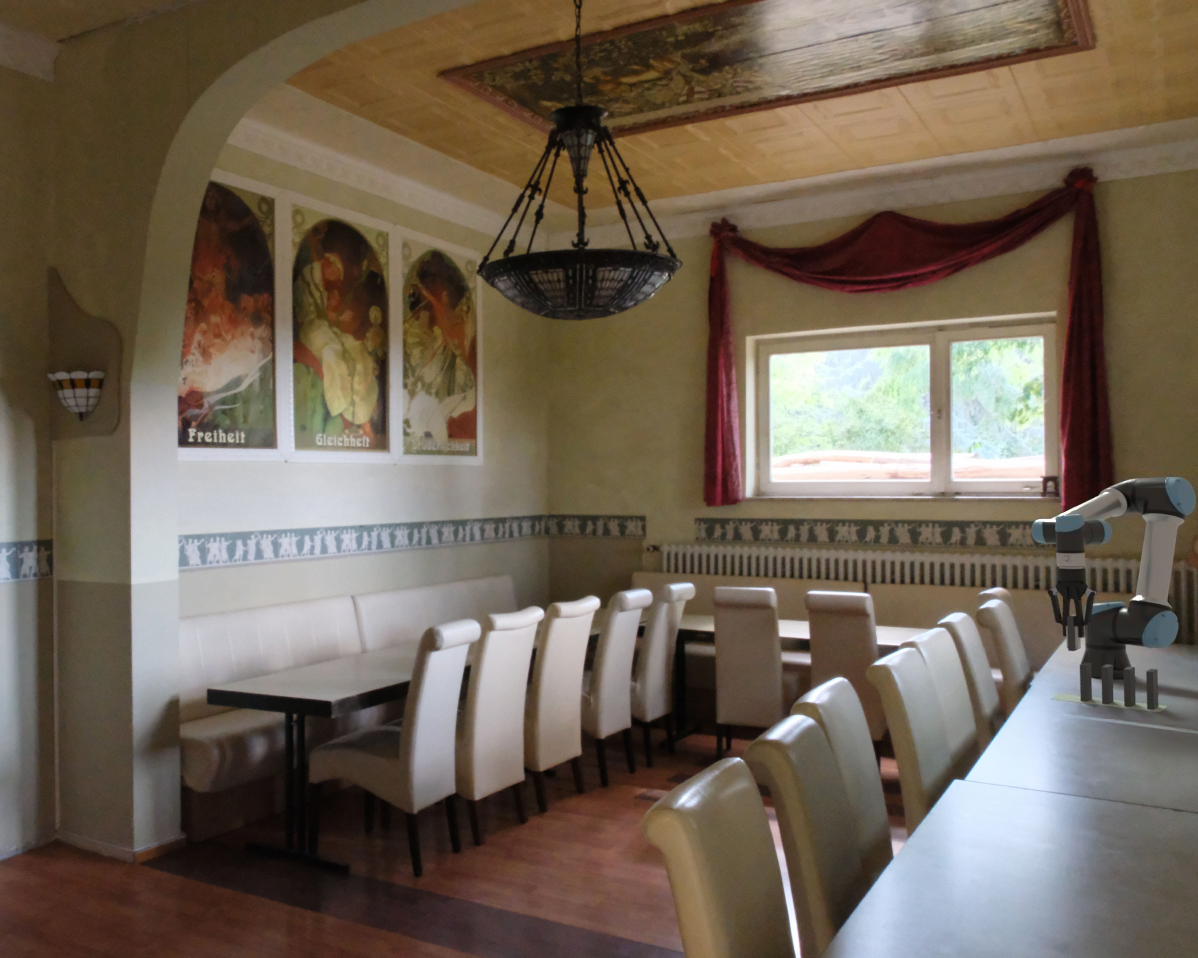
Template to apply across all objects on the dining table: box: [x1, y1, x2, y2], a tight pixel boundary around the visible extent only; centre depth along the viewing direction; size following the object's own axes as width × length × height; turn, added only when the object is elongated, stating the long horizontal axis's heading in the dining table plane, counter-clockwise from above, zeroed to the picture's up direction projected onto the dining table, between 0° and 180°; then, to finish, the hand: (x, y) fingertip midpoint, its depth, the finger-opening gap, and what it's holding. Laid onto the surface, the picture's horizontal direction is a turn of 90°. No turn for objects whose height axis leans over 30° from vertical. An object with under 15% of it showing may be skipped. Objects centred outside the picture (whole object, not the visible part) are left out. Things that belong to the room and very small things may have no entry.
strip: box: [1051, 693, 1168, 713], centre depth 268 cm, size 9×27×1 cm, turn 48°
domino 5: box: [1145, 668, 1159, 710], centre depth 260 cm, size 5×2×10 cm, turn 138°
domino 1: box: [1067, 613, 1079, 652], centre depth 283 cm, size 5×2×10 cm, turn 138°
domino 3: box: [1101, 664, 1115, 704], centre depth 268 cm, size 5×2×10 cm, turn 138°
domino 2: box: [1079, 662, 1093, 702], centre depth 271 cm, size 5×2×10 cm, turn 138°
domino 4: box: [1123, 666, 1137, 707], centre depth 264 cm, size 5×2×10 cm, turn 138°
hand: (1073, 647), depth 283 cm, fingers closed on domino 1, 2 cm apart
